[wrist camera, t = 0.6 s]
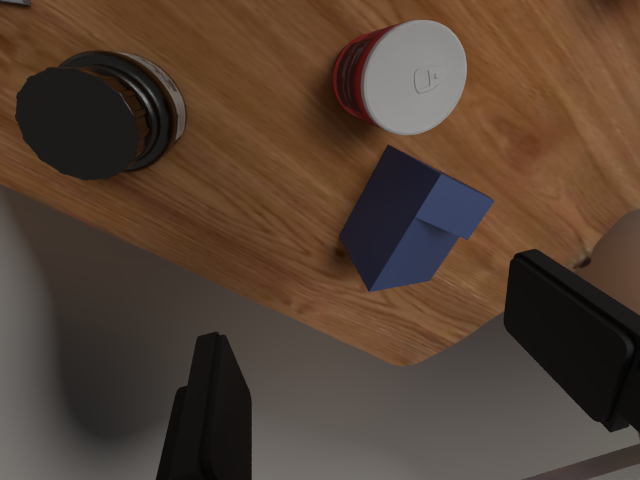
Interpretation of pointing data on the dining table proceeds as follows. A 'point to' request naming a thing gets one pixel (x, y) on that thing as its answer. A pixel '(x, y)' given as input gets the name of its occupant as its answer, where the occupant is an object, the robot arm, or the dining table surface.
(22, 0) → the colouring board
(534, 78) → the dining table surface
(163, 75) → the ink bottle
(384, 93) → the canned food
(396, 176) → the phone stand
